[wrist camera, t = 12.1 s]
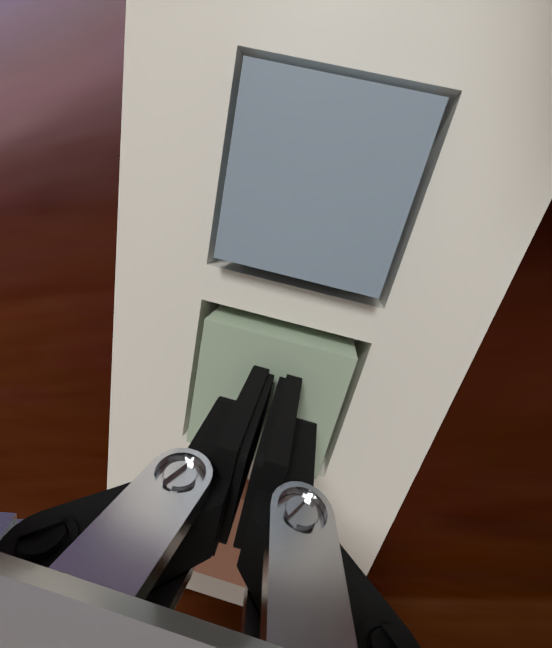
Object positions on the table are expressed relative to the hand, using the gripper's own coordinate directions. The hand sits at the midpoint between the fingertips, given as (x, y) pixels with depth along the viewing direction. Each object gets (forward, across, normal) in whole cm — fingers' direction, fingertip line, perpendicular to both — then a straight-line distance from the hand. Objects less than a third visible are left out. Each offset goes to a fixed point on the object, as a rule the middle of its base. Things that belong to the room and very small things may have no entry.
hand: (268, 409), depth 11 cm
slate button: (+3, 0, -7) cm, 8 cm away
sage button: (+3, 0, 0) cm, 3 cm away
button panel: (+4, 0, 0) cm, 4 cm away
